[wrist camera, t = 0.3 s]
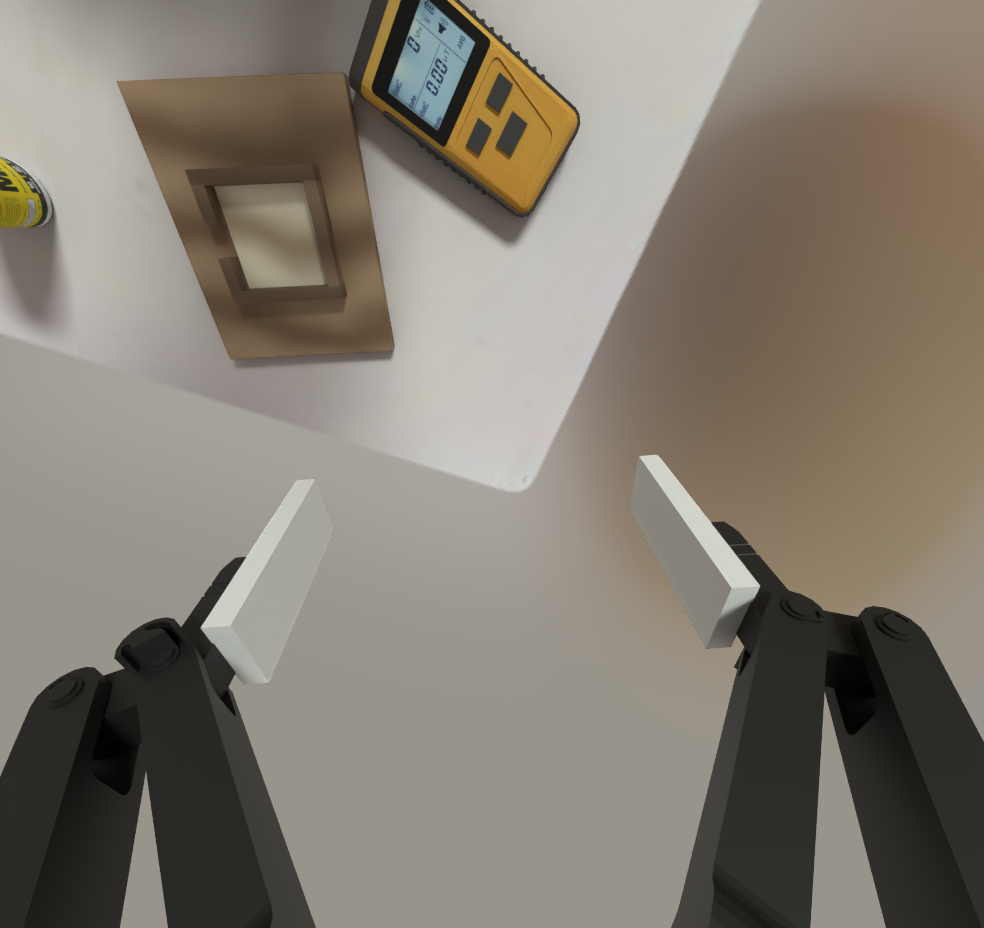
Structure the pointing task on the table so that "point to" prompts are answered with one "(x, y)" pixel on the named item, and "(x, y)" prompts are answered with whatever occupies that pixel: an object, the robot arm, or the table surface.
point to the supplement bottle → (21, 197)
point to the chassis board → (269, 208)
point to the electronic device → (464, 97)
